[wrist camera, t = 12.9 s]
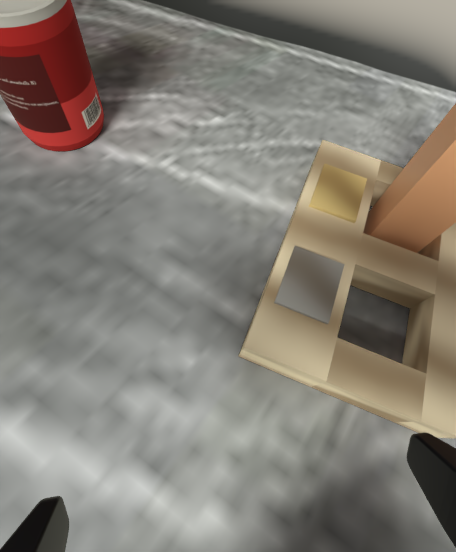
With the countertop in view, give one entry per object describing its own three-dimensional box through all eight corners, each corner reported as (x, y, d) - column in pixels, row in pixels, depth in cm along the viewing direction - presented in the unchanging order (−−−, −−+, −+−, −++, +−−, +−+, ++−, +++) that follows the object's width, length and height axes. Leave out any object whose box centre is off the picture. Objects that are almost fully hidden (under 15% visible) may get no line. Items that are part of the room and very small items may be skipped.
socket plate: (429, 437, 22) (466, 438, 19) (238, 356, 23) (244, 345, 20) (450, 214, 30) (478, 191, 27) (312, 164, 32) (323, 137, 29)
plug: (403, 263, 27) (556, 142, 16) (359, 246, 28) (477, 115, 16) (409, 228, 29) (552, 95, 17) (368, 212, 30) (480, 72, 18)
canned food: (94, 90, 33) (51, -51, 24) (116, 142, 31) (77, 6, 21) (16, 106, 32) (-67, -41, 22) (32, 163, 29) (-55, 23, 19)
